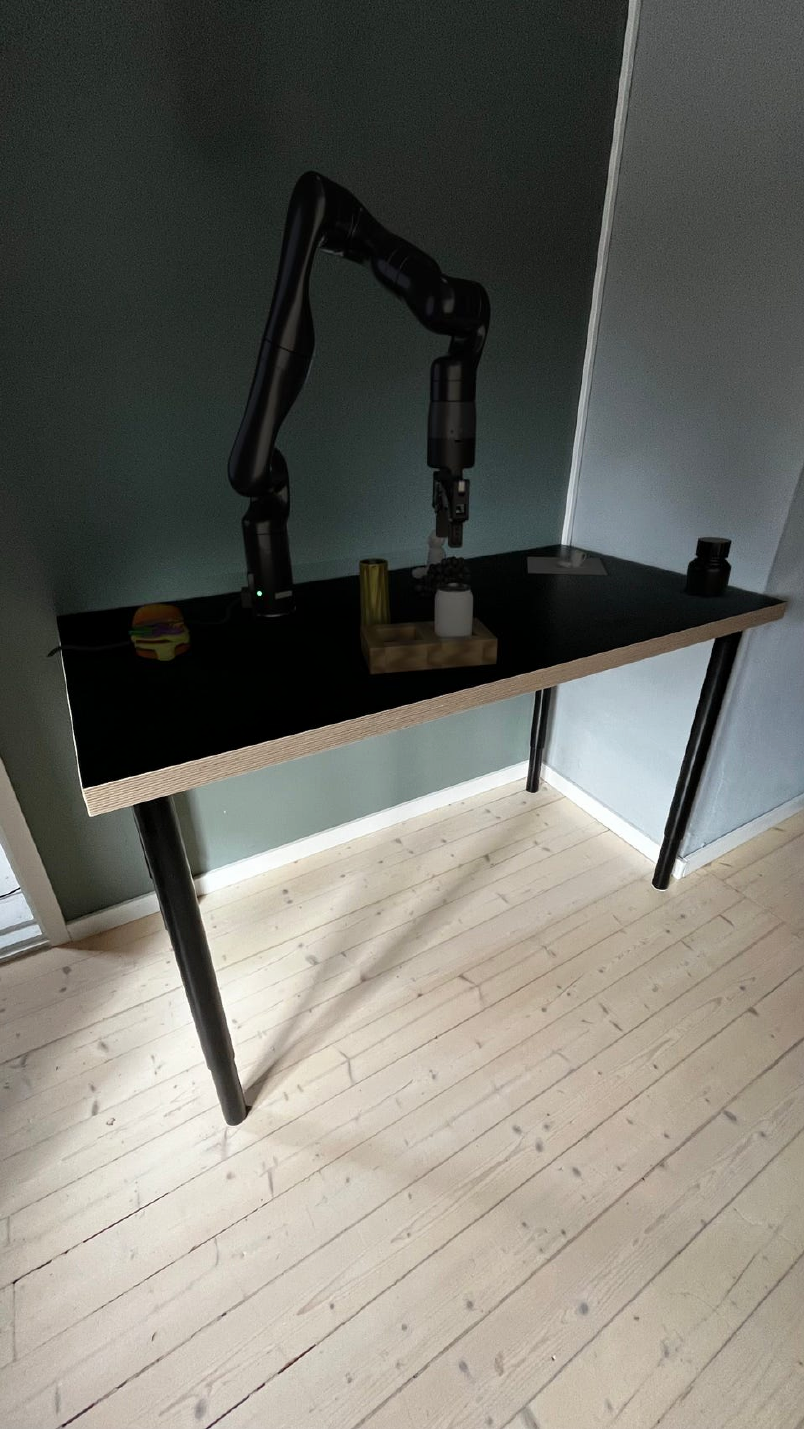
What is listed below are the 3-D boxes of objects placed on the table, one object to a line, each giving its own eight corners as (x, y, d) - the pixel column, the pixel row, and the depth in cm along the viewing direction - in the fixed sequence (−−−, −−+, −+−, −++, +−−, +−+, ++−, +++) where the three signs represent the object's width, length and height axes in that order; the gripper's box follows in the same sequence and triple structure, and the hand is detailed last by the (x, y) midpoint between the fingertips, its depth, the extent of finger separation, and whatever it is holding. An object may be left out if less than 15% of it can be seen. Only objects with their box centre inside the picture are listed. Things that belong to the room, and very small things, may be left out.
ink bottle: (707, 586, 152) (717, 534, 147) (736, 595, 144) (747, 541, 139) (673, 590, 149) (682, 537, 144) (700, 600, 142) (711, 545, 136)
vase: (380, 643, 119) (377, 566, 113) (353, 638, 122) (349, 562, 116) (398, 634, 123) (396, 559, 117) (371, 629, 126) (369, 556, 120)
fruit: (418, 561, 139) (473, 551, 146) (399, 567, 146) (453, 557, 153) (426, 601, 141) (480, 589, 148) (407, 604, 148) (459, 593, 155)
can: (446, 663, 109) (447, 594, 104) (427, 651, 114) (427, 585, 109) (478, 656, 112) (481, 589, 107) (458, 645, 117) (460, 580, 112)
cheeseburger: (135, 666, 109) (122, 608, 107) (135, 661, 119) (123, 607, 117) (196, 656, 113) (185, 599, 111) (191, 652, 123) (181, 599, 120)
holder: (370, 674, 105) (369, 648, 103) (361, 650, 116) (360, 626, 114) (496, 663, 109) (497, 638, 107) (475, 641, 119) (476, 617, 117)
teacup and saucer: (557, 569, 169) (559, 554, 167) (556, 563, 176) (557, 548, 174) (592, 570, 168) (593, 555, 166) (589, 563, 175) (590, 548, 173)
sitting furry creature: (436, 571, 170) (437, 524, 165) (460, 576, 164) (461, 528, 159) (410, 577, 164) (410, 529, 159) (434, 583, 159) (434, 533, 153)
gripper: (418, 432, 104) (417, 535, 111) (438, 437, 91) (435, 552, 98) (463, 432, 105) (459, 533, 112) (489, 436, 92) (483, 550, 99)
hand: (448, 542), depth 105 cm, fingers open, 8 cm apart
